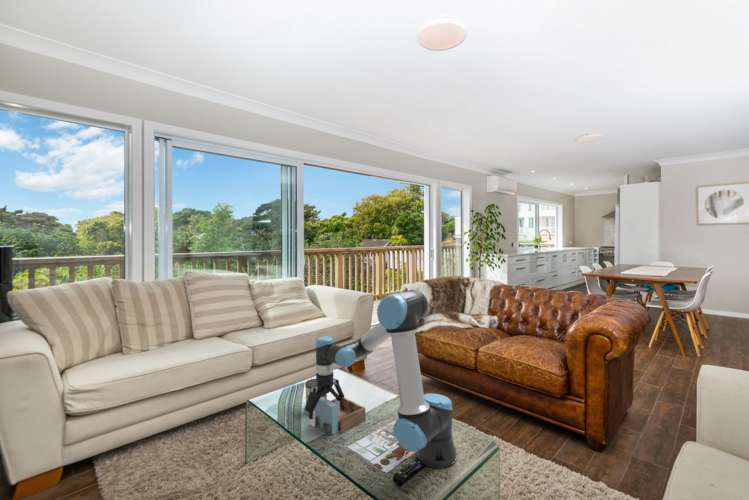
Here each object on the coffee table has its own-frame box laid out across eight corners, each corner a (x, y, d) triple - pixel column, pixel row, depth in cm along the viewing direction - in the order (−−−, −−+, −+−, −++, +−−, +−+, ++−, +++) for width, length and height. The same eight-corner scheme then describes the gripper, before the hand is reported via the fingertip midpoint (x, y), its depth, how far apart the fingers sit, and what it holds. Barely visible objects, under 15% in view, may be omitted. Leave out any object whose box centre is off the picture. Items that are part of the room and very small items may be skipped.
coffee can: (330, 406, 180) (329, 378, 179) (323, 417, 170) (322, 387, 169) (310, 405, 182) (309, 377, 181) (302, 415, 172) (301, 385, 171)
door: (312, 423, 165) (312, 397, 164) (318, 420, 167) (318, 394, 167) (331, 435, 155) (331, 407, 154) (338, 432, 157) (337, 405, 157)
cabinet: (365, 420, 166) (365, 407, 166) (331, 437, 153) (331, 423, 152) (341, 408, 179) (341, 396, 178) (308, 422, 165) (308, 409, 165)
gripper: (341, 363, 171) (341, 407, 172) (295, 378, 154) (296, 427, 155) (351, 367, 166) (352, 412, 167) (305, 383, 149) (306, 433, 150)
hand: (325, 419), depth 161 cm, fingers open, 13 cm apart
